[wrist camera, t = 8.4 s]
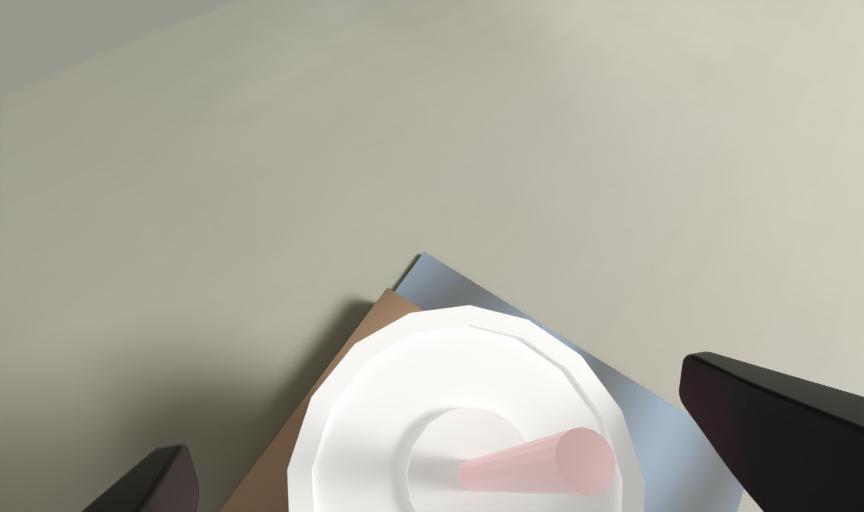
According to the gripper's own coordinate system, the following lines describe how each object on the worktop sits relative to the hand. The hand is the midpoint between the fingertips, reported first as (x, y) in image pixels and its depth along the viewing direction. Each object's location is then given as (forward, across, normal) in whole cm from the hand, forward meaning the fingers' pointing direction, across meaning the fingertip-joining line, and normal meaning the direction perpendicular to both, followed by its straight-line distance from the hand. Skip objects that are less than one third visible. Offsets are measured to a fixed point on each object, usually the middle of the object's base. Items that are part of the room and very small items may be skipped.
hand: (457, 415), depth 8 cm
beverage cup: (+6, 0, +7) cm, 9 cm away
